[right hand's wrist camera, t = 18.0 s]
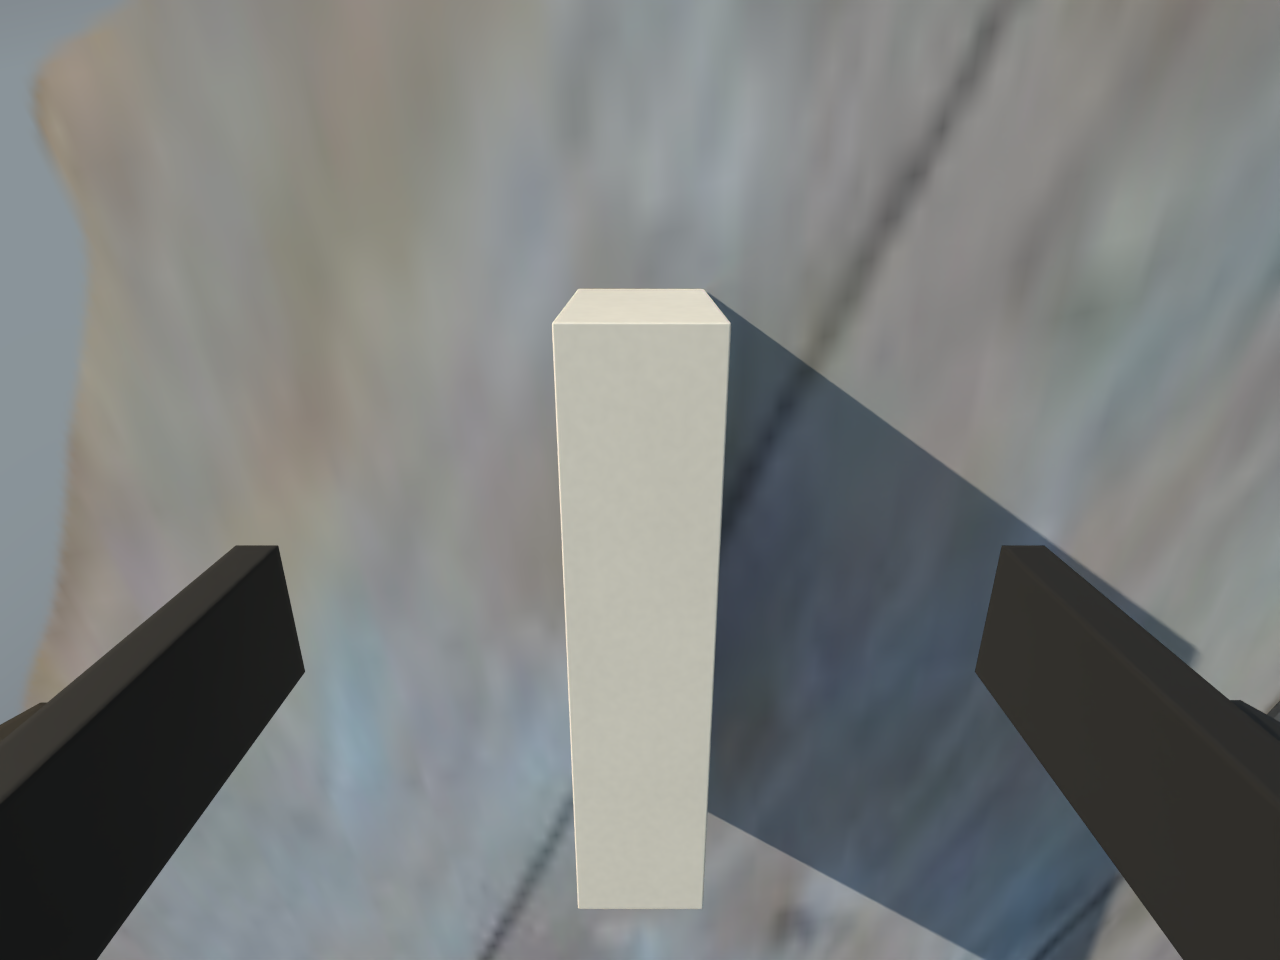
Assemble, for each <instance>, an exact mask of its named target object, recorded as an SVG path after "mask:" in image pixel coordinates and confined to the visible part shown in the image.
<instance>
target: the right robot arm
mask: <svg viewBox="0 0 1280 960" xmlns="http://www.w3.org/2000/svg"><path fill="white" fill-rule="evenodd" d="M304 672H305V669H304V664H303V660H302V655H301V650H300V646H299V641H298V636H297V632H296V627H295V622H294V618H293V613H292V608H291V604H290V599H289V594H288V590H287V585H286V580H285V576H284V571H283V566H282V561H281V557H280V552H279V547H278V546H235V547H234V548H232V549H231V550H230V551H229V552H228V553H226V554H225V555H224V556H223V557H222V558H220V559H219V560H218V561H217V562H216V563H214V564H213V565H212V566H211V567H210V568H208V569H207V570H206V571H205V572H204V573H202V574H201V575H200V576H199V577H198V578H196V579H195V580H194V581H193V582H192V583H190V584H189V585H188V586H187V587H186V588H184V589H183V590H182V591H181V592H180V593H178V594H177V595H176V596H175V597H174V598H172V599H171V600H170V601H169V602H168V603H166V604H165V605H164V606H163V607H162V608H160V609H159V610H158V611H157V612H156V613H154V614H153V615H152V616H151V617H150V618H148V619H147V620H146V621H145V622H144V623H142V624H141V625H140V626H139V627H138V628H136V629H135V630H134V631H133V632H132V633H130V634H129V635H128V636H127V637H126V638H124V639H123V640H122V641H121V642H120V643H118V644H117V645H116V646H115V647H114V648H112V649H111V650H110V651H109V652H108V653H106V654H105V655H104V656H103V657H102V658H100V659H99V660H98V661H97V662H96V663H94V664H93V665H92V666H91V667H90V668H88V669H87V670H86V671H85V672H84V673H82V674H81V675H80V676H79V677H78V678H76V679H75V680H74V681H73V682H72V683H70V684H69V685H68V686H67V687H66V688H64V689H63V690H62V691H61V692H60V693H58V694H57V695H56V696H55V697H54V698H52V699H51V700H50V701H49V702H48V703H39V704H37V705H35V706H34V707H32V708H30V709H28V710H26V711H25V712H23V713H21V714H19V715H17V716H16V717H14V718H12V719H10V720H8V721H6V722H5V723H3V724H1V725H0V960H97V959H98V957H99V956H100V954H101V953H102V952H103V950H104V949H105V948H106V946H107V945H108V943H109V942H110V941H111V939H112V938H113V936H114V935H115V934H116V932H117V931H118V930H119V928H120V927H121V925H122V924H123V923H124V921H125V920H126V919H127V917H128V916H129V914H130V913H131V912H132V910H133V909H134V907H135V906H136V905H137V903H138V902H139V901H140V899H141V898H142V896H143V895H144V894H145V892H146V891H147V889H148V888H149V887H150V885H151V884H152V883H153V881H154V880H155V878H156V877H157V876H158V874H159V873H160V872H161V870H162V869H163V867H164V866H165V865H166V863H167V862H168V860H169V859H170V858H171V856H172V855H173V854H174V852H175V851H176V849H177V848H178V847H179V845H180V844H181V842H182V841H183V840H184V838H185V837H186V836H187V834H188V833H189V831H190V830H191V829H192V827H193V826H194V825H195V823H196V822H197V820H198V819H199V818H200V816H201V815H202V813H203V812H204V811H205V809H206V808H207V807H208V805H209V804H210V802H211V801H212V800H213V798H214V797H215V795H216V794H217V793H218V791H219V790H220V789H221V787H222V786H223V784H224V783H225V782H226V780H227V779H228V778H229V776H230V775H231V773H232V772H233V771H234V769H235V768H236V766H237V765H238V764H239V762H240V761H241V760H242V758H243V757H244V755H245V754H246V753H247V751H248V750H249V748H250V747H251V746H252V744H253V743H254V742H255V740H256V739H257V737H258V736H259V735H260V733H261V732H262V731H263V729H264V728H265V726H266V725H267V724H268V722H269V721H270V719H271V718H272V717H273V715H274V714H275V713H276V711H277V710H278V708H279V707H280V706H281V704H282V703H283V701H284V700H285V699H286V697H287V696H288V695H289V693H290V692H291V690H292V689H293V688H294V686H295V685H296V683H297V682H298V681H299V679H300V678H301V677H302V675H303V674H304ZM975 672H976V674H977V675H978V677H979V678H980V679H981V681H982V682H983V684H984V685H985V686H986V688H987V689H988V690H989V692H990V693H991V695H992V696H993V697H994V699H995V700H996V701H997V703H998V704H999V706H1000V707H1001V708H1002V710H1003V711H1004V713H1005V714H1006V715H1007V717H1008V718H1009V719H1010V721H1011V722H1012V724H1013V725H1014V726H1015V728H1016V729H1017V731H1018V732H1019V733H1020V735H1021V736H1022V737H1023V739H1024V740H1025V742H1026V743H1027V744H1028V746H1029V747H1030V748H1031V750H1032V751H1033V753H1034V754H1035V755H1036V757H1037V758H1038V760H1039V761H1040V762H1041V764H1042V765H1043V766H1044V768H1045V769H1046V771H1047V772H1048V773H1049V775H1050V776H1051V778H1052V779H1053V780H1054V782H1055V783H1056V784H1057V786H1058V787H1059V789H1060V790H1061V791H1062V793H1063V794H1064V795H1065V797H1066V798H1067V800H1068V801H1069V802H1070V804H1071V805H1072V807H1073V808H1074V809H1075V811H1076V812H1077V813H1078V815H1079V816H1080V818H1081V819H1082V820H1083V822H1084V823H1085V825H1086V826H1087V827H1088V829H1089V830H1090V831H1091V833H1092V834H1093V836H1094V837H1095V838H1096V840H1097V841H1098V842H1099V844H1100V845H1101V847H1102V848H1103V849H1104V851H1105V852H1106V854H1107V855H1108V856H1109V858H1110V859H1111V860H1112V862H1113V863H1114V865H1115V866H1116V867H1117V869H1118V870H1119V872H1120V873H1121V874H1122V876H1123V877H1124V878H1125V880H1126V881H1127V883H1128V884H1129V885H1130V887H1131V888H1132V889H1133V891H1134V892H1135V894H1136V895H1137V896H1138V898H1139V899H1140V901H1141V902H1142V903H1143V905H1144V906H1145V907H1146V909H1147V910H1148V912H1149V913H1150V914H1151V916H1152V917H1153V919H1154V920H1155V921H1156V923H1157V924H1158V925H1159V927H1160V928H1161V930H1162V931H1163V932H1164V934H1165V935H1166V936H1167V938H1168V939H1169V941H1170V942H1171V943H1172V945H1173V946H1174V948H1175V949H1176V950H1177V952H1178V953H1179V954H1180V956H1181V957H1182V959H1183V960H1280V702H1279V703H1278V704H1276V706H1275V707H1274V708H1273V709H1272V710H1271V711H1270V712H1269V713H1268V714H1267V715H1266V714H1264V713H1263V712H1261V711H1259V710H1257V709H1255V708H1254V707H1252V706H1250V705H1248V704H1246V703H1244V702H1243V701H1241V700H1229V699H1228V698H1226V697H1225V696H1224V695H1223V694H1222V693H1220V692H1219V691H1218V690H1217V689H1216V688H1214V687H1213V686H1212V685H1211V684H1210V683H1208V682H1207V681H1206V680H1205V679H1204V678H1202V677H1201V676H1200V675H1199V674H1198V673H1196V672H1195V671H1194V670H1193V669H1192V668H1190V667H1189V666H1188V665H1187V664H1186V663H1184V662H1183V661H1182V660H1181V659H1180V658H1178V657H1177V656H1176V655H1175V654H1174V653H1172V652H1171V651H1170V650H1169V649H1168V648H1166V647H1165V646H1164V645H1163V644H1162V643H1160V642H1159V641H1158V640H1157V639H1156V638H1154V637H1153V636H1152V635H1151V634H1150V633H1148V632H1147V631H1146V630H1145V629H1144V628H1142V627H1141V626H1140V625H1139V624H1138V623H1136V622H1135V621H1134V620H1133V619H1132V618H1130V617H1129V616H1128V615H1127V614H1126V613H1124V612H1123V611H1122V610H1121V609H1120V608H1118V607H1117V606H1116V605H1115V604H1114V603H1112V602H1111V601H1110V600H1109V599H1108V598H1106V597H1105V596H1104V595H1103V594H1102V593H1100V592H1099V591H1098V590H1097V589H1096V588H1094V587H1093V586H1092V585H1091V584H1090V583H1088V582H1087V581H1086V580H1085V579H1084V578H1082V577H1081V576H1080V575H1079V574H1078V573H1076V572H1075V571H1074V570H1073V569H1072V568H1070V567H1069V566H1068V565H1067V564H1066V563H1064V562H1063V561H1062V560H1061V559H1060V558H1058V557H1057V556H1056V555H1055V554H1054V553H1052V552H1051V551H1050V550H1049V549H1048V548H1046V547H1045V546H1002V547H1001V552H1000V557H999V561H998V566H997V571H996V576H995V580H994V585H993V590H992V594H991V599H990V604H989V608H988V613H987V618H986V622H985V627H984V632H983V636H982V641H981V646H980V650H979V655H978V660H977V664H976V669H975Z"/></svg>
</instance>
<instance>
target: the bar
mask: <svg viewBox="0 0 1280 960" xmlns="http://www.w3.org/2000/svg"><path fill="white" fill-rule="evenodd" d="M552 333H553V355H554V378H555V400H556V423H557V445H558V467H559V490H560V512H561V534H562V557H563V579H564V601H565V624H566V646H567V669H568V691H569V713H570V736H571V758H572V780H573V803H574V825H575V847H576V870H577V892H578V908H579V909H702V908H703V892H704V871H705V851H706V830H707V810H708V789H709V769H710V748H711V728H712V707H713V687H714V666H715V646H716V625H717V605H718V585H719V564H720V544H721V523H722V503H723V482H724V462H725V441H726V421H727V400H728V380H729V359H730V339H731V323H730V322H729V320H728V319H727V318H726V317H725V315H724V314H723V313H722V311H721V310H720V309H719V308H718V306H717V305H716V304H715V303H714V301H713V300H712V299H711V298H710V296H709V295H708V294H707V293H706V291H705V290H704V289H578V290H577V292H576V293H575V294H574V295H573V297H572V298H571V299H570V301H569V302H568V303H567V305H566V306H565V307H564V309H563V310H562V311H561V313H560V314H559V315H558V316H557V318H556V319H555V320H554V322H553V323H552Z"/></svg>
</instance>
